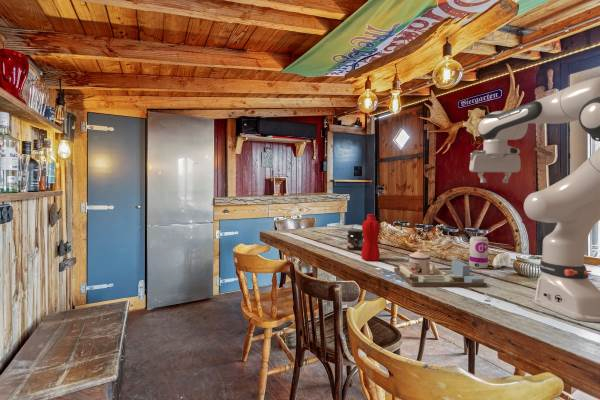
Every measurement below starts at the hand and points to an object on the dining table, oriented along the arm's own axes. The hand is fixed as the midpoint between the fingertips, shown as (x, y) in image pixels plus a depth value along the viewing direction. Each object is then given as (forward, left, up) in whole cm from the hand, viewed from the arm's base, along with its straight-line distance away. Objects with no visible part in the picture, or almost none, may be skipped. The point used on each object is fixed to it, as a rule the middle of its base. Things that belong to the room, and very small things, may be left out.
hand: (494, 182), depth 136 cm
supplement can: (+21, -6, -42) cm, 48 cm away
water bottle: (+36, +44, -42) cm, 71 cm away
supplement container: (+65, +48, -42) cm, 91 cm away
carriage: (+4, +23, -42) cm, 48 cm away
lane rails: (+1, +23, -42) cm, 48 cm away
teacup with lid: (+4, +29, -42) cm, 51 cm away
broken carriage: (-7, +21, -42) cm, 47 cm away
